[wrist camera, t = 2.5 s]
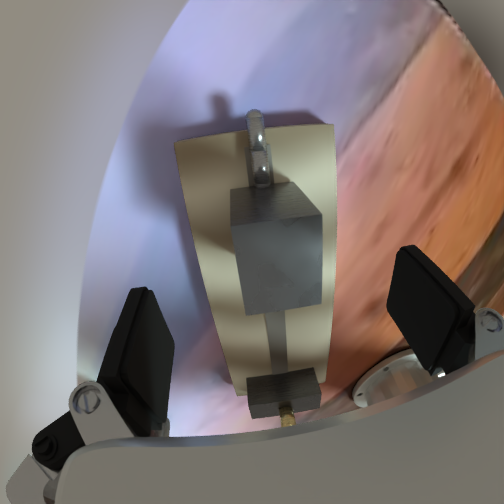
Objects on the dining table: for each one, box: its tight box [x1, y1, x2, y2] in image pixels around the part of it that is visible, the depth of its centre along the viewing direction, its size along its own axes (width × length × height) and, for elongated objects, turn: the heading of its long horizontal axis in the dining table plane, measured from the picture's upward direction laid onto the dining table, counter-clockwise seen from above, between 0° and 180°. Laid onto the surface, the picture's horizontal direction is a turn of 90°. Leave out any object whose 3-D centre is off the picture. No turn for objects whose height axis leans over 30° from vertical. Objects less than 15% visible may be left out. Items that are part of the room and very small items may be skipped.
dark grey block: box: [230, 109, 323, 316], centre depth 14 cm, size 10×4×6 cm, turn 7°
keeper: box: [246, 367, 321, 427], centre depth 25 cm, size 4×7×6 cm, turn 97°
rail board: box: [174, 123, 337, 396], centre depth 22 cm, size 26×10×2 cm, turn 7°
